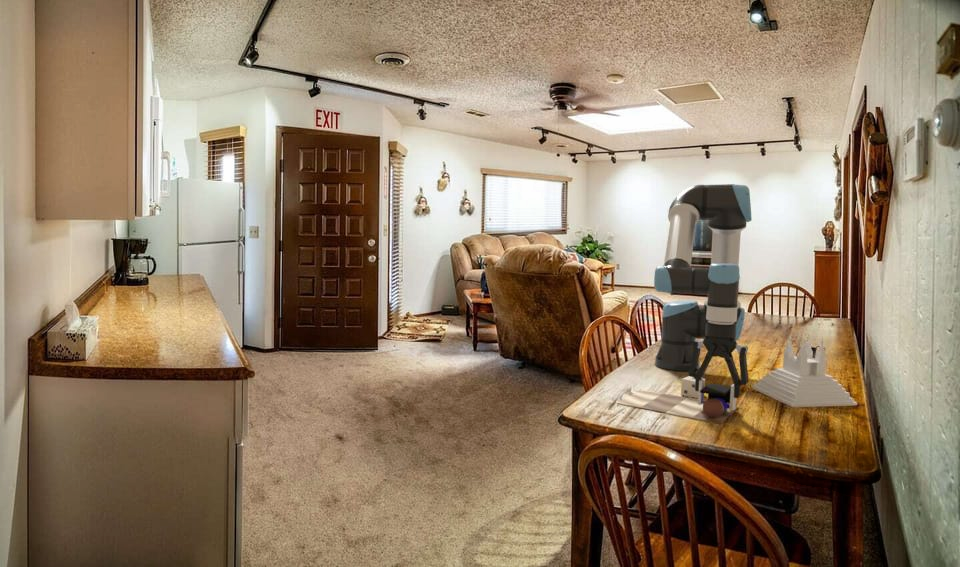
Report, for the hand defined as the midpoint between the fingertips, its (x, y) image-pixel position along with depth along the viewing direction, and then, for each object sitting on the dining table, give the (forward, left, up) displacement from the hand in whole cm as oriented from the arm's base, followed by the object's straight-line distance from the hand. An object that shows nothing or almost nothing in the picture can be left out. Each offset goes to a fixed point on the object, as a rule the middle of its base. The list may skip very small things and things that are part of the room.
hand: (716, 406), depth 166 cm
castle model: (-34, +16, -2) cm, 37 cm away
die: (-14, -10, -2) cm, 17 cm away
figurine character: (0, 0, -2) cm, 2 cm away
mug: (-55, +15, -2) cm, 57 cm away
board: (0, -10, -2) cm, 11 cm away
